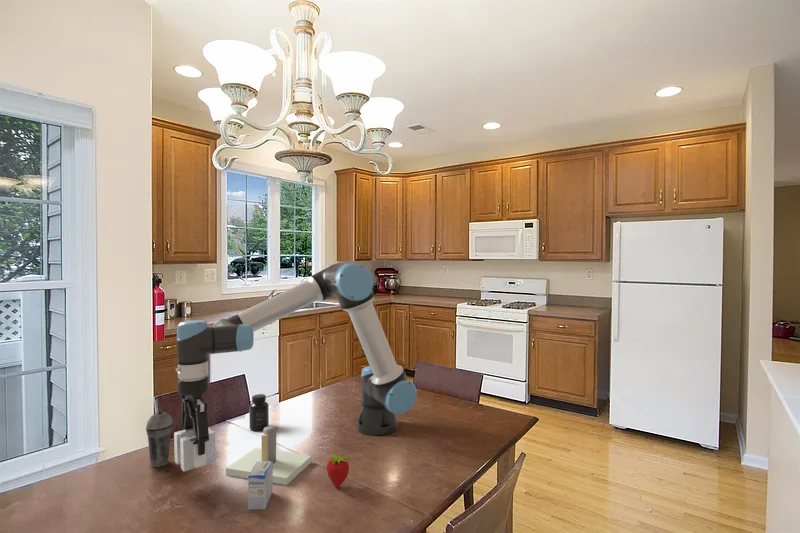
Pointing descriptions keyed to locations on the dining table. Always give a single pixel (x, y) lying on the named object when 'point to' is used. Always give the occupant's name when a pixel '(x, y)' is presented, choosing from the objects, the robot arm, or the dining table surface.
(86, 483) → the dining table surface
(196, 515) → the dining table surface
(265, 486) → the medicine box
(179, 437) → the keyed collar
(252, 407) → the supplement bottle
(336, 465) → the strawberry
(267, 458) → the shaft stand
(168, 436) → the beverage cup
